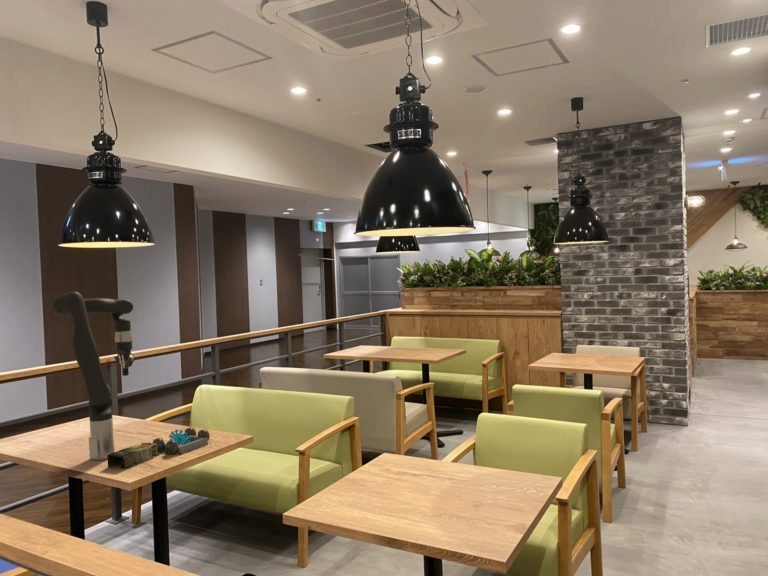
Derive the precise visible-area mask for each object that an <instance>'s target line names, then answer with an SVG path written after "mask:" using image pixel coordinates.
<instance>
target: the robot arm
mask: <svg viewBox="0 0 768 576" xmlns="http://www.w3.org/2000/svg"><path fill="white" fill-rule="evenodd" d="M52 309H53V310H54V311H55V312H56V314H59V315H62V316H68V315H71V317H72V320H73V334H72V336H71V337H72V338H71V348H72V352H73V354H74V358H75V360H76V363H77V366H78V367H79V370H80V372H81V374H82V377H83V379H84V382H85V388H86V392H87V394H86V395H87V398H88V412H89V413H88V414H89V416H88V417H89V433H90V434H89V435H90V436H89V437H88V450H89V452H88V453H89V454H88V455H89V460H94V461H102V460H107V459H108V457H107V455H109V454H111V453H114V452H115V440H114V439H115V437H114V423H113V422H114V421H113V420H114V419H113V404H112V403H113V402H112V389H111V387H110V385H109V384H107V382H106V379H105V377H104V374H103V372H102V367H101V360H100V359H101V358H100V354H99V350H98V346H97V344H96V340H95V338H94V336H93V335H94V334H93V331H92V328H91V325H90V321H89V316H88V313H91V314H111V317H112V321H113V323H114V330H115V331H114V332H115V333H114V342H115V343H114V345H115V352H116V351H117V355H116V356H114V357H113V358H114V360H115V361H116V364H117V365H118V367H120V368H121V373H122V376H123V377H127V376H129V368H130V367H132V365H133V363H134V361H135V360H136V358H135V356H133V355H132V352H131V350H133V335H132V329H131V326H132V325H131V320H130V319H128V318H126V317H125V315H126V314H127V315H128V314H131V312H133V310H134V304H133V302H132V301H131V300H129V299H127V298H126V299H125V298H124V299H123V298H122V299H118V298H117V299H113V298H103V297H99V298H98V297H95V298H84V297H83V295H82V294H81V293H80V292H78V291H71V292H66V293H63V294H62V293H61V294H60V295H57V296H56V297H55V298H54V299H53V301H52Z"/></svg>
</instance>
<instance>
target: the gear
mask: <svg viewBox="0 0 768 576" xmlns="http://www.w3.org/2000/svg"><path fill="white" fill-rule="evenodd" d="M183 432H184V433H183ZM184 435H185V436H184ZM186 435H187V433H186V432H185V431H183V430H182V429H180V430H178V429H175V430H173V431H171V432H170V434H169V436H168V438H169V441H171V440H175V441H176V442H177V444H178V446H182V445H185V444H187V443H190V440H189V439H190V438H191V435H189V436H186Z"/></svg>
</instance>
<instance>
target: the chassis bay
mask: <svg viewBox="0 0 768 576" xmlns="http://www.w3.org/2000/svg"><path fill="white" fill-rule="evenodd" d="M185 432H186V433H187V435H186V436H189V435H191V438H190V439H189V440H190V443H187V442H186V443H187V444H184V445H180V446H178V445H179V444H177V442H176V441H175V440H174V439H173V440H171V441H170V440H168V441H167V442H166V443H165V440H164V439H163V438H161V437H158V438H154V439H153V441H152V442H151V443H152V444H157V451H158V453H159V452H165V451H167V452H166V453H168V455H170V454H172V455H175V454H176V453H182V454H184V453H183V452H185V453H186V451H187V452H189V450H190V451H193V450H194V449H197V448H200V446H201V447H203V446H205V444H206V445H208V444H209V440H210V437H211V436H210V432H209V431H208V430H207V429H206V428H204V429H201V430H198V432H197V431H196V429H195V428H194V427H192V426H191V427H187V428H186V429H185V430H184V433H185ZM184 436H185V435H184ZM202 445H203V446H202ZM192 449H193V450H192Z"/></svg>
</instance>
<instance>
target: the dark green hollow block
mask: <svg viewBox="0 0 768 576" xmlns="http://www.w3.org/2000/svg"><path fill="white" fill-rule="evenodd" d="M152 443H153V442H140V443H136V444H134V445H131V446H128V447H125V448H121V449H119V450H117V451H114V453H111V454H109V455H107V457H108V458H107V459H106V460H107V468H110V467H113V466H114V465H117V463H118V464H119V463H121V464H120V468H122V469H124V468H128V467H129V466H130V467H132V466H135V464H136V465H137V463H138V464H141V463H143V462H144V460H145V461H147V460H150V459H152V458H154V457H153V456H155V457H157V456H158V453H159V452H158V451H157V444H152ZM156 455H157V456H156ZM151 457H152V458H151ZM149 458H150V459H149ZM146 459H147V460H146ZM142 461H143V462H142ZM109 466H110V467H109Z"/></svg>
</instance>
